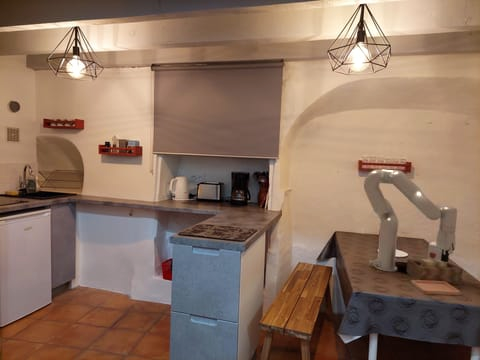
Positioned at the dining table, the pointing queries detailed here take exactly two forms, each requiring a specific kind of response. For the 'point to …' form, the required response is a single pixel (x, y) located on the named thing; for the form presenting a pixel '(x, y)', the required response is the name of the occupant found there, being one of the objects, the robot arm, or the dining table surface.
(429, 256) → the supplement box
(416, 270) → the walnut pocket jig
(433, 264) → the maple block
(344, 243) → the dining table surface
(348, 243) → the dining table surface
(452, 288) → the terracotta tray
